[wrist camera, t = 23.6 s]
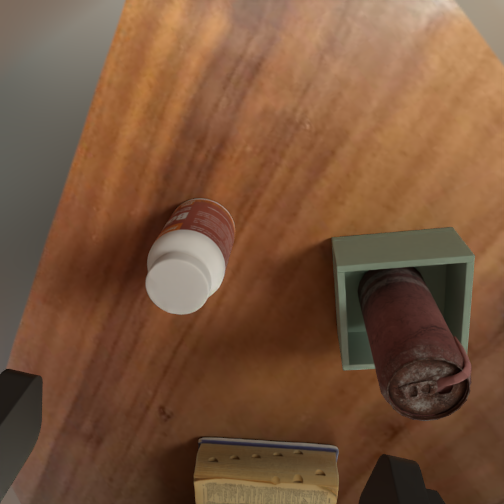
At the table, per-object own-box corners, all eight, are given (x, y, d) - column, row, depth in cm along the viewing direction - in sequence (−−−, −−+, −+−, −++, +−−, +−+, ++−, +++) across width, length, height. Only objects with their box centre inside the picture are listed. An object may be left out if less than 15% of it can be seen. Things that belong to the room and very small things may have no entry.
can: (439, 285, 44) (499, 390, 31) (386, 325, 46) (422, 438, 33) (395, 243, 42) (439, 337, 30) (343, 287, 45) (363, 391, 32)
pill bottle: (189, 183, 42) (157, 233, 32) (248, 218, 43) (235, 277, 33) (159, 236, 45) (120, 297, 35) (215, 268, 46) (193, 336, 36)
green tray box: (331, 237, 43) (336, 266, 38) (452, 226, 42) (475, 255, 37) (337, 332, 48) (342, 370, 43) (447, 326, 46) (466, 364, 41)
